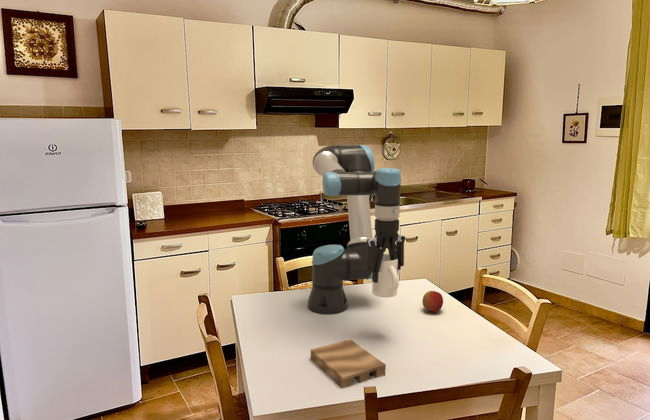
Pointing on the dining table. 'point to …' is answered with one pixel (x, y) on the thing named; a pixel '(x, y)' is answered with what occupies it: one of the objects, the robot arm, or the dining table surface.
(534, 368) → the dining table surface
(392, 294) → the mug
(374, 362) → the wooden pallet
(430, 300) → the apple
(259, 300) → the dining table surface
